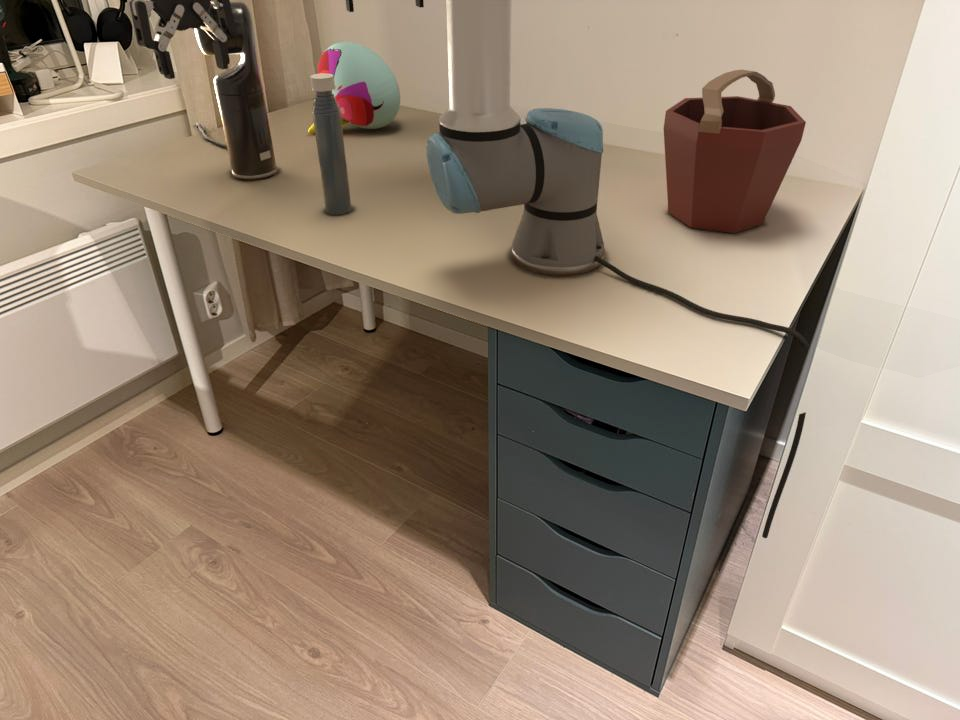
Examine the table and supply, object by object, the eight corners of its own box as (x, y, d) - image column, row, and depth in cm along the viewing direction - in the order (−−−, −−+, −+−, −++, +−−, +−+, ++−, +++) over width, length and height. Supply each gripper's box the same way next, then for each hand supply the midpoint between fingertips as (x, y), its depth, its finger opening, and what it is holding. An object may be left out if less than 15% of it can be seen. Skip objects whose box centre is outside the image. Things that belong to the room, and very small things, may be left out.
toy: (277, 110, 181) (275, 51, 163) (352, 72, 191) (358, 13, 173) (336, 175, 178) (341, 122, 160) (410, 134, 188) (421, 79, 170)
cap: (310, 87, 124) (308, 74, 122) (333, 85, 125) (331, 72, 123) (313, 92, 120) (311, 79, 119) (336, 90, 121) (334, 77, 120)
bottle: (324, 207, 136) (306, 76, 123) (349, 204, 138) (334, 74, 124) (327, 216, 133) (309, 82, 119) (353, 213, 134) (338, 80, 120)
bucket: (710, 250, 119) (740, 96, 105) (622, 208, 134) (638, 69, 120) (804, 218, 129) (843, 75, 115) (713, 183, 145) (736, 53, 131)
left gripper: (203, -56, 103) (227, 62, 112) (105, -50, 94) (139, 77, 104) (230, -54, 99) (252, 69, 108) (129, -47, 90) (162, 85, 99)
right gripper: (436, -128, 128) (441, 2, 140) (298, -127, 121) (316, 10, 133) (450, -128, 123) (454, 7, 134) (306, -128, 115) (324, 15, 127)
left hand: (196, 73), depth 106 cm, fingers open, 8 cm apart
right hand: (385, 9), depth 134 cm, fingers open, 13 cm apart
